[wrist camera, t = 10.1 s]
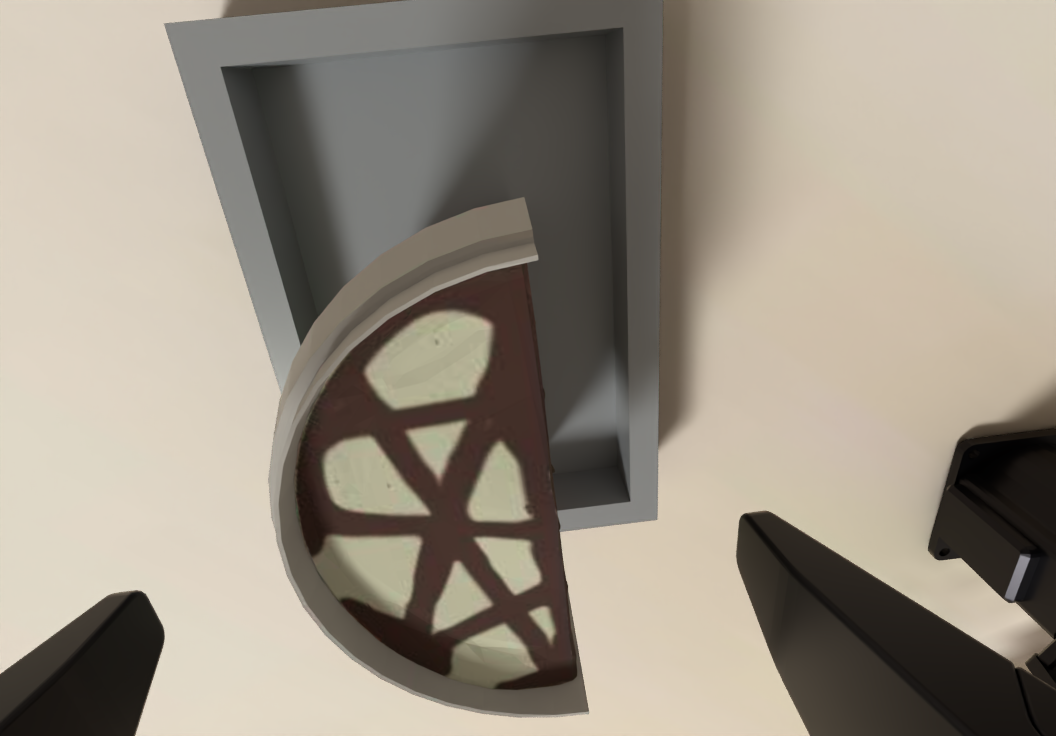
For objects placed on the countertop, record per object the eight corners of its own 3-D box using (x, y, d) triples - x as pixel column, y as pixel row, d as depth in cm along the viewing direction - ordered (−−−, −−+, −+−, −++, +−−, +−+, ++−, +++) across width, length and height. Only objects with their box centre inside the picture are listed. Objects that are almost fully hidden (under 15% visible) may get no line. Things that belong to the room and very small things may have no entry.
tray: (633, -7, 17) (663, -24, 14) (637, 471, 24) (657, 519, 22) (215, 33, 16) (163, 23, 14) (349, 506, 24) (334, 560, 21)
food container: (304, 179, 18) (122, 275, 9) (505, 152, 18) (534, 220, 9) (393, 501, 23) (339, 766, 14) (546, 478, 23) (591, 727, 14)
